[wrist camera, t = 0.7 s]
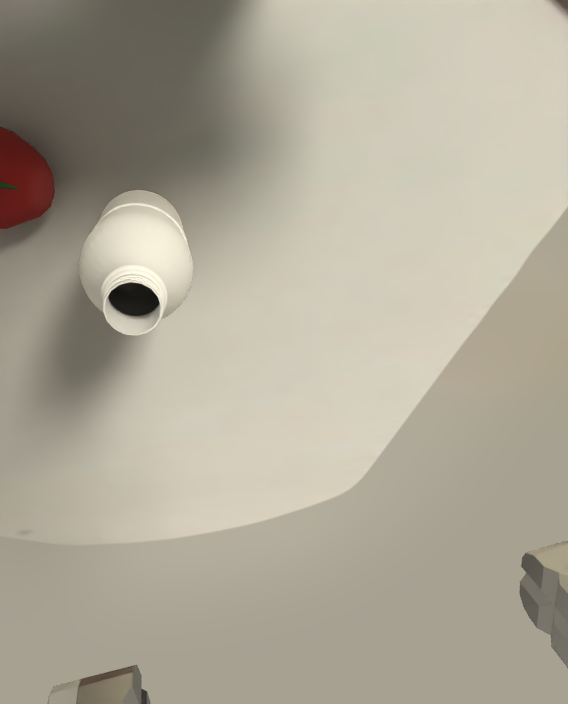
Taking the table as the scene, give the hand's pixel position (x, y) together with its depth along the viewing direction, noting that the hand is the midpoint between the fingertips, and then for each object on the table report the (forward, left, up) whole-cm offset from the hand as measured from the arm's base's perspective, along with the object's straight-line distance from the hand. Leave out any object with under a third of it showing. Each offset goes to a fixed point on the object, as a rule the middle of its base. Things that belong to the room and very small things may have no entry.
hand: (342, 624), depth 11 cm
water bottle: (-1, -4, -45) cm, 45 cm away
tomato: (-7, -14, -45) cm, 48 cm away
